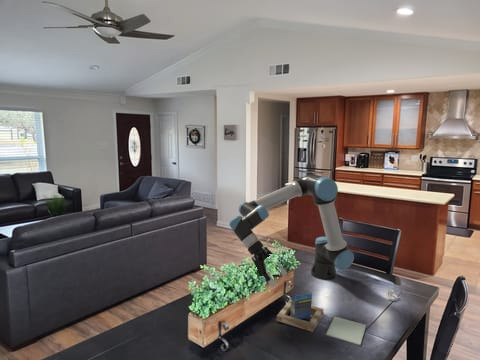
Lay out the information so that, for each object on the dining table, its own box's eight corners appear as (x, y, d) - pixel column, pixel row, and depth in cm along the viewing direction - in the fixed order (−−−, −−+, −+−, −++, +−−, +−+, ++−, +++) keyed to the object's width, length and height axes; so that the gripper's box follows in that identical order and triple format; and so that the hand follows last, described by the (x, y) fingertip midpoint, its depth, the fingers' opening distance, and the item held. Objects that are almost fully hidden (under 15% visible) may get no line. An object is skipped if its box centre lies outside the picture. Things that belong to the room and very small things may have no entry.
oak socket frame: (289, 304, 169) (289, 299, 168) (323, 313, 161) (323, 308, 161) (276, 320, 154) (276, 315, 154) (313, 331, 146) (313, 326, 146)
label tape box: (306, 313, 161) (307, 289, 159) (310, 317, 157) (312, 293, 155) (290, 316, 158) (291, 292, 156) (294, 321, 154) (295, 296, 152)
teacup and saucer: (395, 303, 173) (396, 296, 172) (379, 298, 177) (380, 291, 177) (399, 297, 180) (400, 289, 179) (383, 292, 184) (384, 285, 184)
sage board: (334, 317, 158) (334, 316, 158) (366, 326, 151) (366, 325, 151) (326, 335, 144) (326, 334, 144) (360, 345, 137) (360, 344, 137)
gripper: (258, 241, 177) (284, 274, 173) (235, 256, 156) (264, 295, 151) (268, 233, 174) (294, 267, 169) (246, 247, 152) (275, 286, 148)
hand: (280, 280), depth 160 cm, fingers open, 13 cm apart
